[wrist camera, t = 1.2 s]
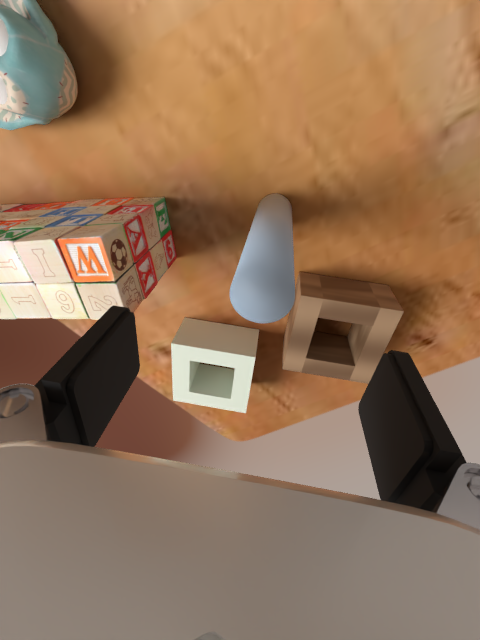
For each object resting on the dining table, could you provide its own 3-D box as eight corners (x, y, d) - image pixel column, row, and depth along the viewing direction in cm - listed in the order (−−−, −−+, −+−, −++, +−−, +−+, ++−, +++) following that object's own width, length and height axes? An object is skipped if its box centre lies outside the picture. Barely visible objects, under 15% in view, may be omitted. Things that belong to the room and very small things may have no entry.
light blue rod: (259, 191, 27) (232, 261, 14) (295, 196, 27) (301, 271, 14) (255, 226, 29) (227, 317, 16) (288, 231, 29) (288, 327, 16)
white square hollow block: (184, 317, 36) (171, 343, 32) (259, 329, 36) (255, 357, 31) (184, 371, 41) (173, 400, 37) (250, 383, 41) (245, 413, 37)
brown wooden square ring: (299, 271, 31) (301, 295, 27) (388, 285, 30) (403, 311, 26) (283, 340, 36) (282, 369, 32) (359, 352, 36) (368, 383, 31)
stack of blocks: (2, 261, 35) (-113, 319, 25) (-28, 205, 32) (-175, 246, 22) (178, 257, 32) (128, 322, 22) (166, 195, 29) (99, 237, 18)
